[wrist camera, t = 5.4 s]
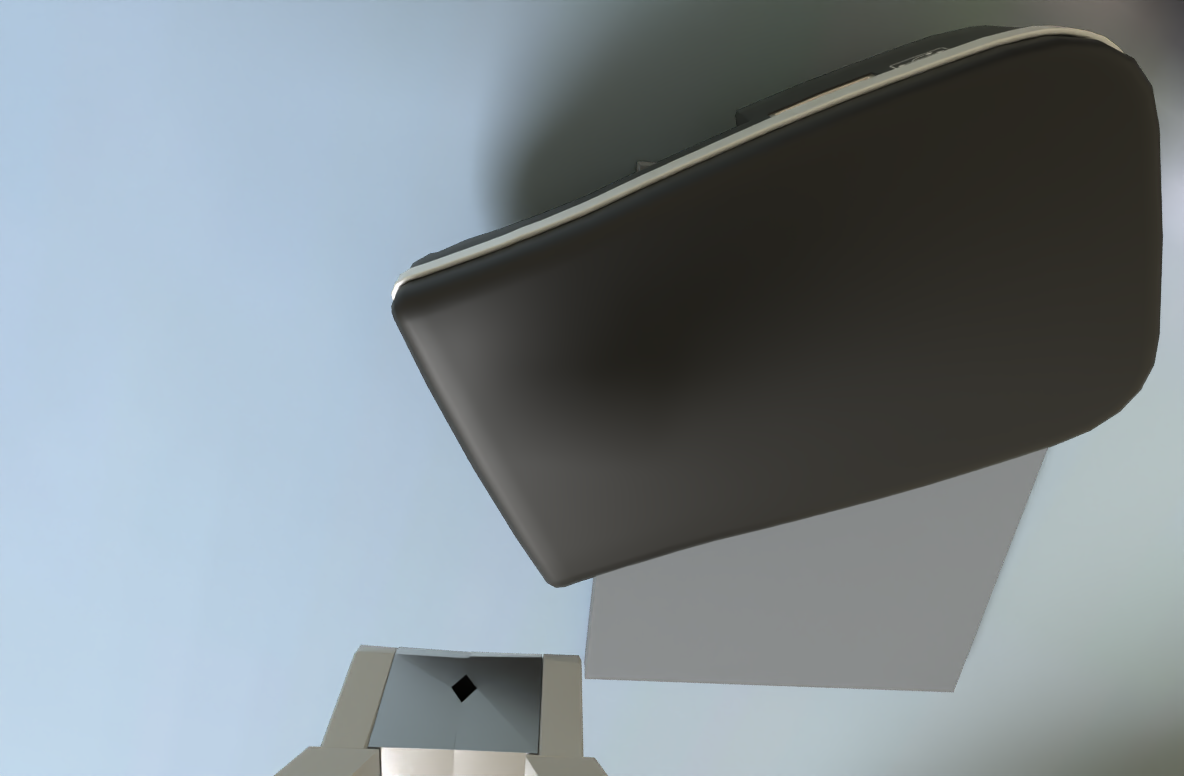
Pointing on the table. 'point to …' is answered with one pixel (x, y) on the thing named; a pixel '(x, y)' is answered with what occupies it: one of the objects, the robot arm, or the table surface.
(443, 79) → the table surface
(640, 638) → the mat
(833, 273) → the battery charger
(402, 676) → the robot arm
